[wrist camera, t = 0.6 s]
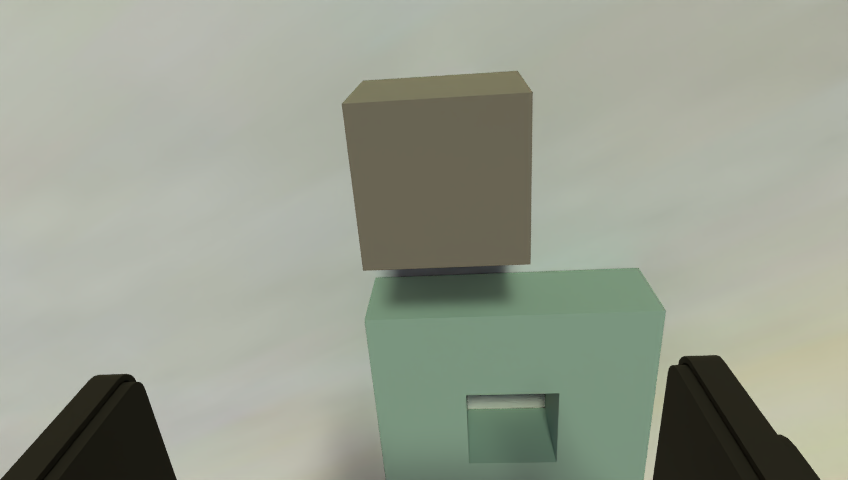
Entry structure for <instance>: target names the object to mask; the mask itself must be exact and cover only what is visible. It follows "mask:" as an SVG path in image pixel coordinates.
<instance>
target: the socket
mask: <svg viewBox="0 0 848 480" xmlns="http://www.w3.org/2000/svg"><path fill="white" fill-rule="evenodd" d="M665 313H666V310H665V309H664V307H663V306H662V304H661V302H660V301H659V299H658V298H657V296H656V295H655V293H654V292H653V290H652V288H651V287H650V285H649V284H648V282H647V281H646V279H645V277H644V276H643V274H642V273H641V271H640V270H639V268H627V269H600V270H573V271H546V272H519V273H492V274H465V275H439V276H412V277H385V278H376V279H375V282H374V286H373V290H372V294H371V298H370V301H369V305H368V309H367V313H366V317H365V327H366V335H367V342H368V350H369V357H370V365H371V372H372V380H373V387H374V395H375V402H376V410H377V417H378V425H379V432H380V440H381V447H382V455H383V462H384V470H385V477H386V480H644V473H645V465H646V457H647V450H648V442H649V435H650V427H651V419H652V412H653V404H654V396H655V389H656V381H657V374H658V366H659V358H660V351H661V343H662V336H663V328H664V320H665ZM504 394H545V408H516V409H467V395H504Z"/></svg>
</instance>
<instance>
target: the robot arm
mask: <svg viewBox="0 0 848 480" xmlns="http://www.w3.org/2000/svg"><path fill="white" fill-rule="evenodd" d="M1 480H177V479H176V476H175V474H174V471H173V468H172V465H171V462H170V459H169V456H168V453H167V451H166V448H165V445H164V442H163V439H162V436H161V433H160V431H159V428H158V425H157V422H156V419H155V416H154V413H153V410H152V408H151V405H150V402H149V399H148V396H147V393H146V390H145V388H144V386H143V384H142V383H140V382H136V380H135V378H134V377H133V376H132V375H129V374H112V375H97V376H94V377H93V378H91V379H90V380H89V381H88V382H87V383H86V384H85V386H84V387H83V388H82V389H81V390H80V391H79V392H78V393H77V395H76V396H75V397H74V398H73V399H72V400H71V401H70V402H69V403H68V405H67V406H66V407H65V408H64V409H63V410H62V411H61V412H60V414H59V415H58V416H57V417H56V418H55V419H54V420H53V421H52V423H51V424H50V425H49V426H48V427H47V428H46V429H45V430H44V431H43V433H42V434H41V435H40V436H39V437H38V438H37V439H36V440H35V442H34V443H33V444H32V445H31V446H30V447H29V448H28V449H27V450H26V452H25V453H24V454H23V455H22V456H21V457H20V458H19V459H18V461H17V462H16V463H15V464H14V465H13V466H12V467H11V468H10V470H9V471H8V472H7V473H6V474H5V475H4V476H3V477H2V478H1ZM653 480H820V478H819V477H818V476H817V474H816V473H815V472H814V470H813V469H812V468H811V466H810V465H809V464H808V462H807V461H806V460H805V458H804V457H803V456H802V454H801V453H800V452H799V450H798V449H797V448H796V446H795V445H794V444H793V443H792V442H791V441H790V440H789V439H788V438H786V437H784V436H783V435H777V433H776V432H775V431H774V429H773V428H772V427H771V425H770V424H769V422H768V421H767V420H766V418H765V417H764V416H763V414H762V413H761V411H760V410H759V409H758V407H757V406H756V404H755V403H754V402H753V400H752V399H751V398H750V396H749V395H748V393H747V392H746V391H745V389H744V388H743V387H742V385H741V384H740V382H739V381H738V380H737V378H736V377H735V376H734V374H733V373H732V371H731V370H730V369H729V367H728V366H727V364H726V363H725V362H724V360H723V359H722V358H721V357H720V356H717V355H709V356H684V357H681V359H680V360H679V364H678V365H672V366H670V368H669V371H668V376H667V383H666V390H665V397H664V404H663V411H662V419H661V426H660V433H659V440H658V447H657V454H656V461H655V468H654V475H653Z"/></svg>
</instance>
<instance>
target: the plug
mask: <svg viewBox="0 0 848 480" xmlns="http://www.w3.org/2000/svg"><path fill="white" fill-rule="evenodd" d="M532 95H533V92H532V91H531V89H530V88H529V87H528V85H527V84H526V82H525V81H524V79H523V78H522V77H521V75H520V74H519V72H518V71H508V72H493V73H477V74H461V75H445V76H429V77H413V78H397V79H382V80H366V81H362V82H361V83H360V84H359V86H358V87H357V88H356V89H355V90H354V91H353V92H352V93H351V94H350V95H349V96H348V98H347V99H346V100H345V101H344V102H343V103H342V109H343V117H344V125H345V133H346V140H347V148H348V156H349V164H350V171H351V179H352V187H353V195H354V203H355V210H356V218H357V226H358V234H359V242H360V249H361V257H362V265H363V271H366V270H392V269H418V268H445V267H471V266H497V265H524V264H530V258H531V176H532Z"/></svg>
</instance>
